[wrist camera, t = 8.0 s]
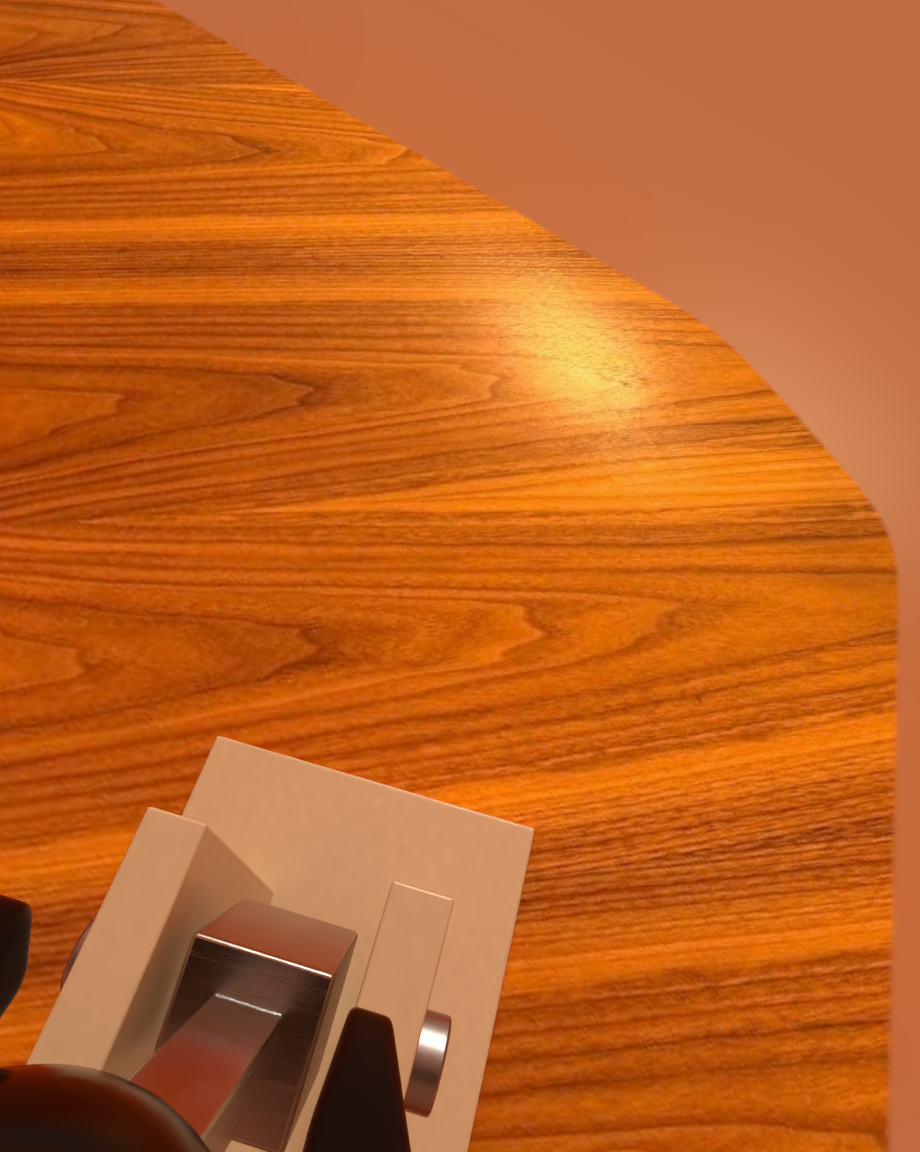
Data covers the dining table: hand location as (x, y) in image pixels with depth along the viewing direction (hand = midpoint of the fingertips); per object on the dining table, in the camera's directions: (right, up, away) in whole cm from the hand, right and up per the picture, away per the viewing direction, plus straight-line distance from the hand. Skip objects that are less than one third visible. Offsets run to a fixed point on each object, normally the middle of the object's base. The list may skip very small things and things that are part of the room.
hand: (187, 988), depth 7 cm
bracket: (-1, -7, +11) cm, 13 cm away
